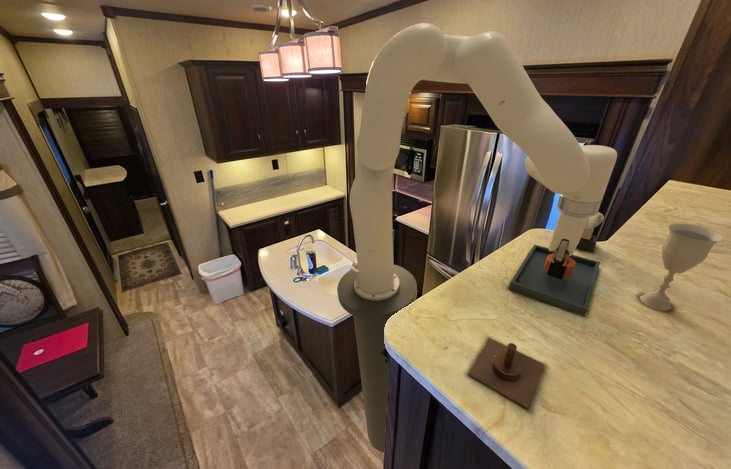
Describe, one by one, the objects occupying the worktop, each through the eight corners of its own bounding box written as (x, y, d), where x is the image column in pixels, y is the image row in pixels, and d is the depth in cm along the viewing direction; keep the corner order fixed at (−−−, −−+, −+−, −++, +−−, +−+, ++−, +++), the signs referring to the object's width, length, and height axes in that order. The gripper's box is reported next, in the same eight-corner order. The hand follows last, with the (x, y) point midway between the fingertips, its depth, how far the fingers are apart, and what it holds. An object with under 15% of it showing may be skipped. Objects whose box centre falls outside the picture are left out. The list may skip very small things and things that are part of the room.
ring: (541, 271, 72) (544, 261, 71) (547, 260, 76) (550, 250, 74) (569, 280, 68) (573, 270, 67) (574, 268, 72) (577, 258, 71)
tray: (508, 288, 71) (510, 282, 70) (532, 250, 85) (534, 244, 84) (584, 316, 62) (587, 309, 61) (597, 268, 76) (600, 261, 75)
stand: (467, 374, 52) (471, 350, 49) (488, 339, 59) (493, 316, 55) (527, 409, 46) (537, 385, 43) (543, 366, 53) (552, 341, 49)
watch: (595, 243, 86) (608, 209, 81) (591, 255, 81) (604, 220, 76) (573, 237, 89) (584, 205, 84) (568, 249, 84) (579, 215, 79)
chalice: (626, 296, 66) (660, 227, 58) (646, 288, 68) (682, 220, 59) (664, 317, 60) (708, 244, 52) (685, 308, 62) (731, 236, 53)
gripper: (566, 189, 71) (548, 250, 80) (549, 214, 60) (531, 282, 69) (604, 194, 67) (581, 258, 76) (593, 223, 56) (568, 294, 65)
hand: (557, 269), depth 72 cm, fingers closed on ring, 6 cm apart
